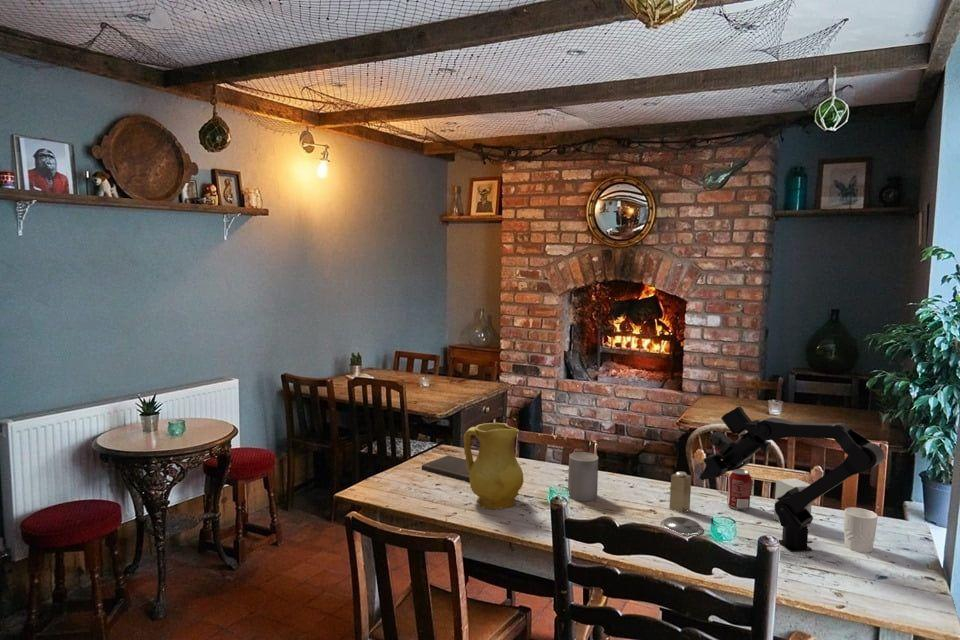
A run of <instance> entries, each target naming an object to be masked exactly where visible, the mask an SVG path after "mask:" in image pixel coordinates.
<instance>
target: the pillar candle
mask: <svg viewBox="0 0 960 640" xmlns="http://www.w3.org/2000/svg"><path fill="white" fill-rule="evenodd" d="M568 457H569V458H568V475H567V476H568V478H567V479H568V481H567V492H568V491H569V495H570V497H569V498H570V499H571V500H574V501H577V502H589V501H590V502H591V501H595V500H596V499H597V498H598V483H599V481H598V479H599V478H598V477H599V456H598V455H597V454H595V453H593V452H588V451H587V452H586V451H575V452H572V453H570V454H569V456H568Z"/></svg>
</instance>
